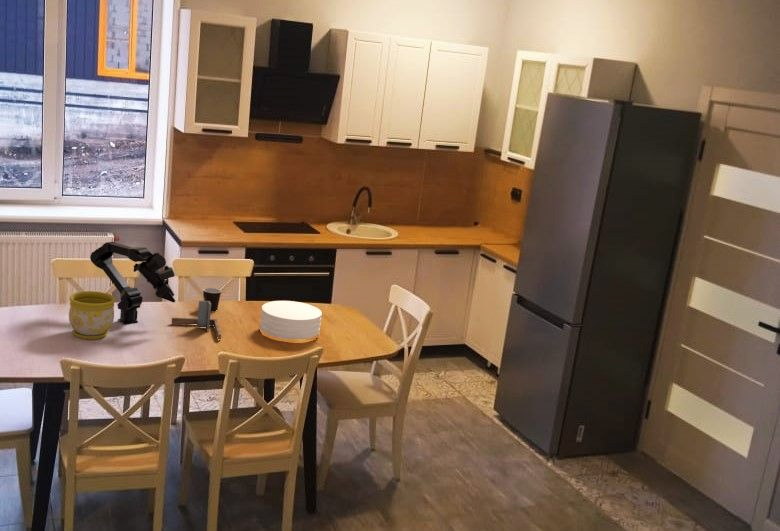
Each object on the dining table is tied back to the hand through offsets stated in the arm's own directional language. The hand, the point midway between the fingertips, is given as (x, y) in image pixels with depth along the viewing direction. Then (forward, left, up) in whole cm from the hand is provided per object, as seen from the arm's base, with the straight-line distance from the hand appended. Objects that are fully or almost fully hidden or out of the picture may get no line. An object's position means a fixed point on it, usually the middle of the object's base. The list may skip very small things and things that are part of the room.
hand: (174, 298), depth 355 cm
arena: (+6, -10, -14) cm, 18 cm away
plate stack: (+45, -29, -14) cm, 55 cm away
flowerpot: (-35, +7, -14) cm, 38 cm away
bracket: (+11, -8, -14) cm, 19 cm away
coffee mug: (+32, +15, -14) cm, 38 cm away
